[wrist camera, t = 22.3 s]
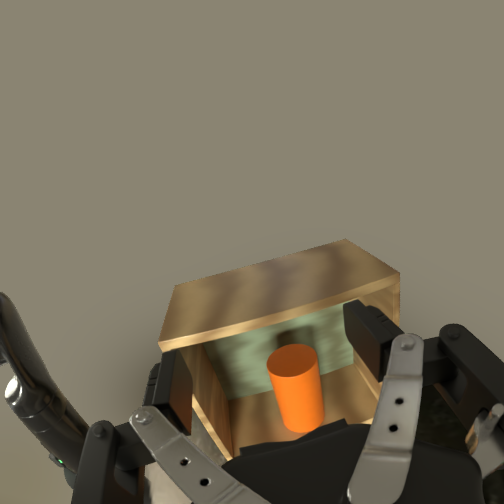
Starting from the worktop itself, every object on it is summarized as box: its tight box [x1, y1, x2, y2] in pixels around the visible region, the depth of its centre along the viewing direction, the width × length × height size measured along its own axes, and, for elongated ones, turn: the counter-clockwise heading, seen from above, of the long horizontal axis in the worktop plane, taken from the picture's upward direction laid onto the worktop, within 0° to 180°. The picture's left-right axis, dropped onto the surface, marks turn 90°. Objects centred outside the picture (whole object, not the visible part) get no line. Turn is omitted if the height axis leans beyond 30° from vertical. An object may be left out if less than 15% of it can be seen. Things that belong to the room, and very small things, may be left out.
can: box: [266, 344, 325, 433], centre depth 31 cm, size 6×6×11 cm
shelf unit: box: [158, 239, 400, 461], centre depth 31 cm, size 22×12×23 cm, turn 97°
